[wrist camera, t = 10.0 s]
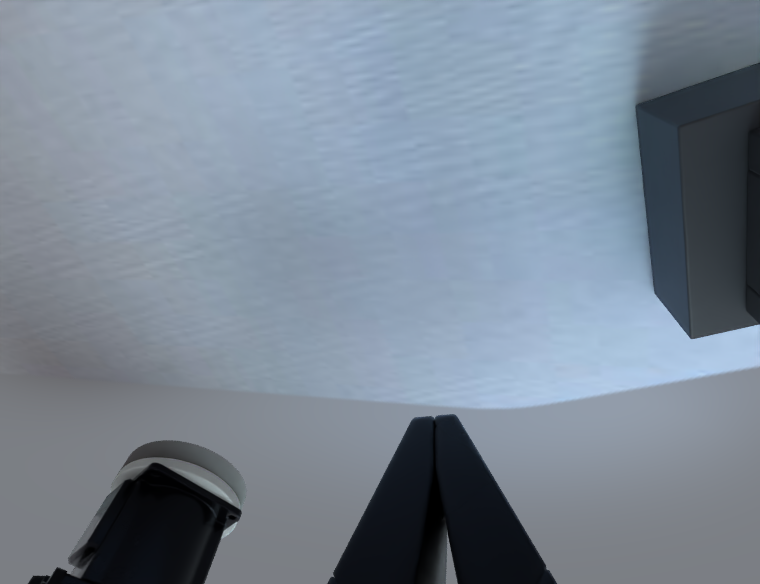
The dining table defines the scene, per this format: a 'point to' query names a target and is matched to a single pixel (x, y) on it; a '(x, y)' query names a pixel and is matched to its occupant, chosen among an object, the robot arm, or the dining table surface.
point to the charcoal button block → (705, 201)
